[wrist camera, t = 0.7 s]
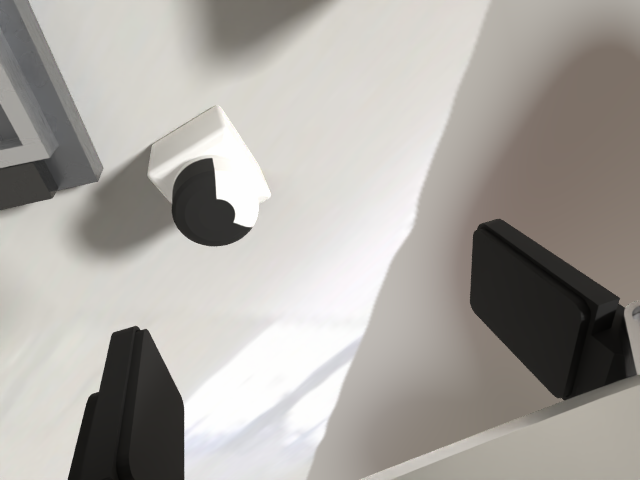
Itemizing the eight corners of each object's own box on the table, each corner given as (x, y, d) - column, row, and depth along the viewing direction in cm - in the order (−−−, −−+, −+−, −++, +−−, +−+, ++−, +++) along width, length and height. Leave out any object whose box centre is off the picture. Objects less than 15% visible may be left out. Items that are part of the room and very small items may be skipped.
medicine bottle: (198, 204, 41) (204, 274, 31) (150, 144, 37) (139, 203, 27) (260, 166, 41) (285, 225, 31) (218, 102, 37) (232, 146, 27)
